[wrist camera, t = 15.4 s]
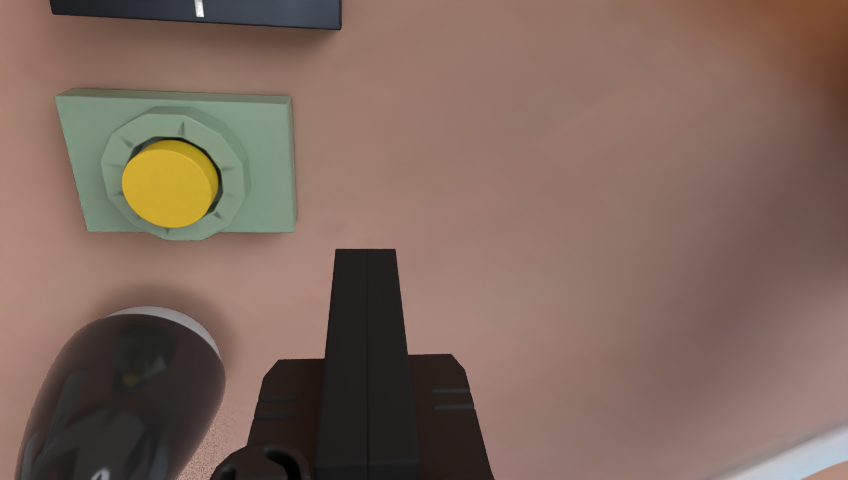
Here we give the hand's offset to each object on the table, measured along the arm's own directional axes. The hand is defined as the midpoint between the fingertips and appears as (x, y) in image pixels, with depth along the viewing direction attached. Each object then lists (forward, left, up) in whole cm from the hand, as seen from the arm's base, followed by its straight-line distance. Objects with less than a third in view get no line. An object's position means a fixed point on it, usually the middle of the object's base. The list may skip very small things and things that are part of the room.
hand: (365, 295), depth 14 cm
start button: (+10, +3, -17) cm, 20 cm away
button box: (+10, +3, -21) cm, 23 cm away
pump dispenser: (+14, +17, -21) cm, 30 cm away
